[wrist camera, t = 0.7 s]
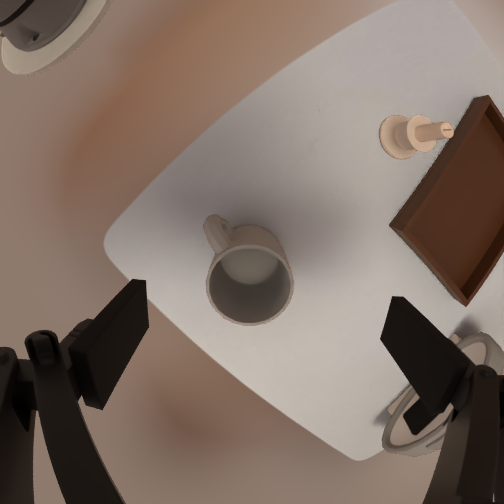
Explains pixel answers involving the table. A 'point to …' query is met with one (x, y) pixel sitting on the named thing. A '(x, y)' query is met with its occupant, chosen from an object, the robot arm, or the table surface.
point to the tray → (461, 204)
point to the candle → (411, 135)
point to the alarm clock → (417, 416)
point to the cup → (246, 273)
